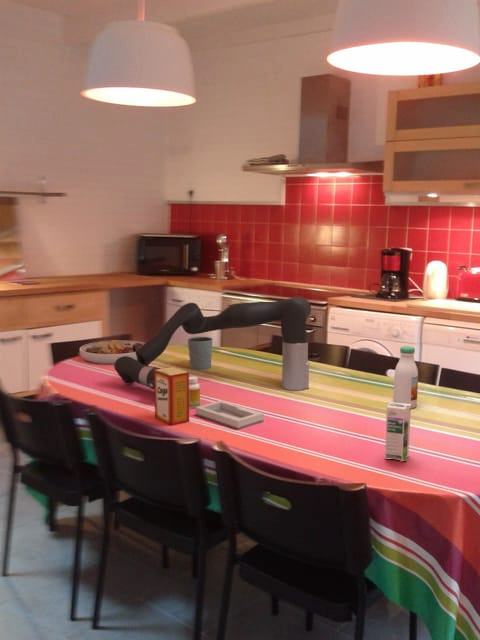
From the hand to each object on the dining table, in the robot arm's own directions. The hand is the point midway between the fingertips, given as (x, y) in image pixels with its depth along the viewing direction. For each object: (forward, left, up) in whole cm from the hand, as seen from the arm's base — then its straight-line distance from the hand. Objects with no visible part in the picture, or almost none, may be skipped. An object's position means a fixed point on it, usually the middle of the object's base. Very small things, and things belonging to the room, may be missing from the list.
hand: (184, 386), depth 226 cm
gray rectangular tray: (-13, +18, -6) cm, 23 cm away
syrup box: (-52, +58, -6) cm, 78 cm away
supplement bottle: (-2, +3, -6) cm, 7 cm away
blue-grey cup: (-11, -50, -6) cm, 52 cm away
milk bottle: (-73, +14, -6) cm, 74 cm away
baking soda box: (+5, +17, -6) cm, 19 cm away
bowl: (+24, -74, -7) cm, 78 cm away
